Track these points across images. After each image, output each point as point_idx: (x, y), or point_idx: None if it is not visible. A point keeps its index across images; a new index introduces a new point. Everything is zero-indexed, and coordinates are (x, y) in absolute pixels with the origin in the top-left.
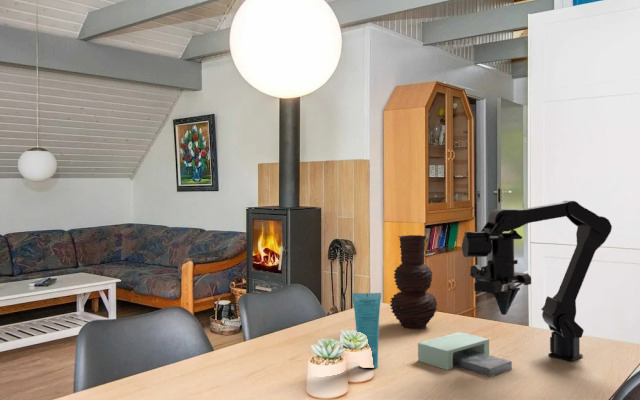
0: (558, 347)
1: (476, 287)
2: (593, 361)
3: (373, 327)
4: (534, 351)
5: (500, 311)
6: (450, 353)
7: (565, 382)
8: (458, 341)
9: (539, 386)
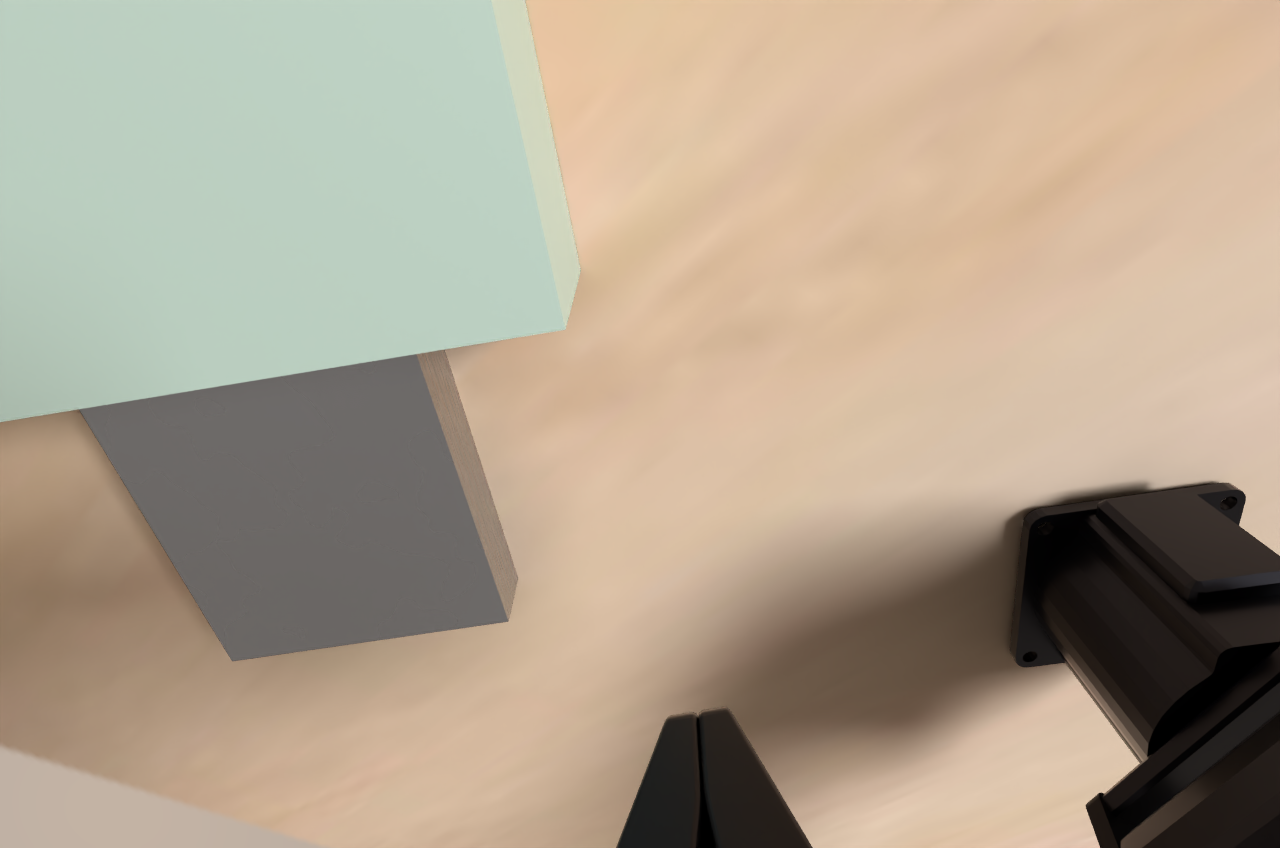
0: (1076, 641)
1: None
2: None
3: None
4: (1081, 362)
5: (651, 760)
6: None
7: None
8: (103, 202)
9: (450, 808)
